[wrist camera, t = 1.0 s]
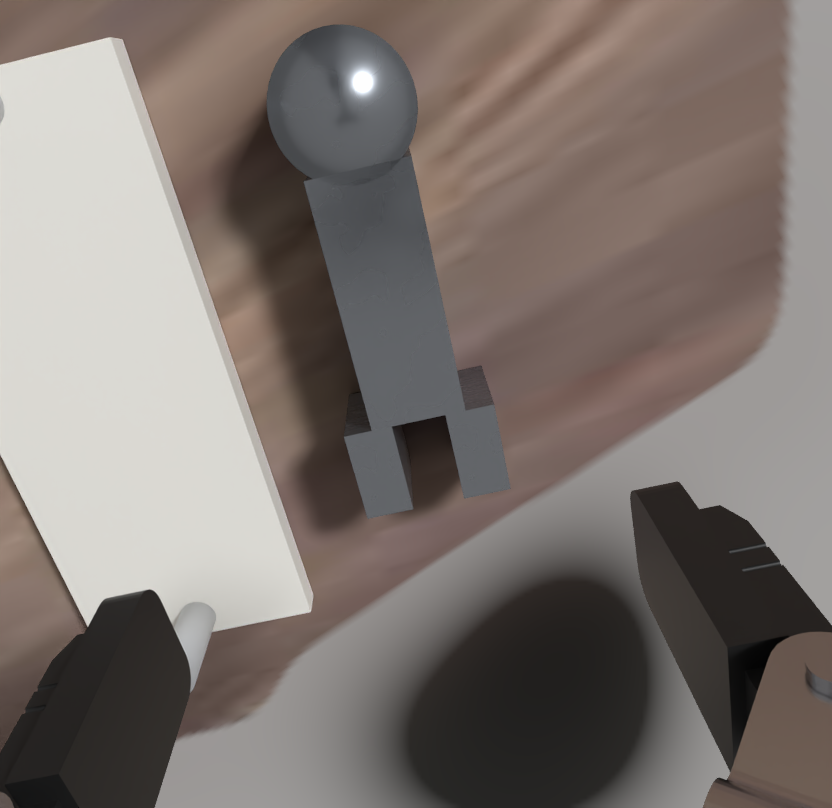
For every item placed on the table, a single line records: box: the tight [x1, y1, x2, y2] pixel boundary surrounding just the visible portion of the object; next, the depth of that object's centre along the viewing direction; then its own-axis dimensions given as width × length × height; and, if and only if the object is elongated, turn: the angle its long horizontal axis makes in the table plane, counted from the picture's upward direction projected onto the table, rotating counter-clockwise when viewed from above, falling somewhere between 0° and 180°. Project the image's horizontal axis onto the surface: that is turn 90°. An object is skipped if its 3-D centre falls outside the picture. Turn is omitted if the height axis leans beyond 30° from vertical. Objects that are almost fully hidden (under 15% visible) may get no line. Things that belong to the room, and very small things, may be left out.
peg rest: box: [0, 37, 313, 692], centre depth 28 cm, size 24×10×5 cm, turn 13°
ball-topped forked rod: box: [267, 25, 511, 518], centre depth 27 cm, size 17×6×4 cm, turn 12°
